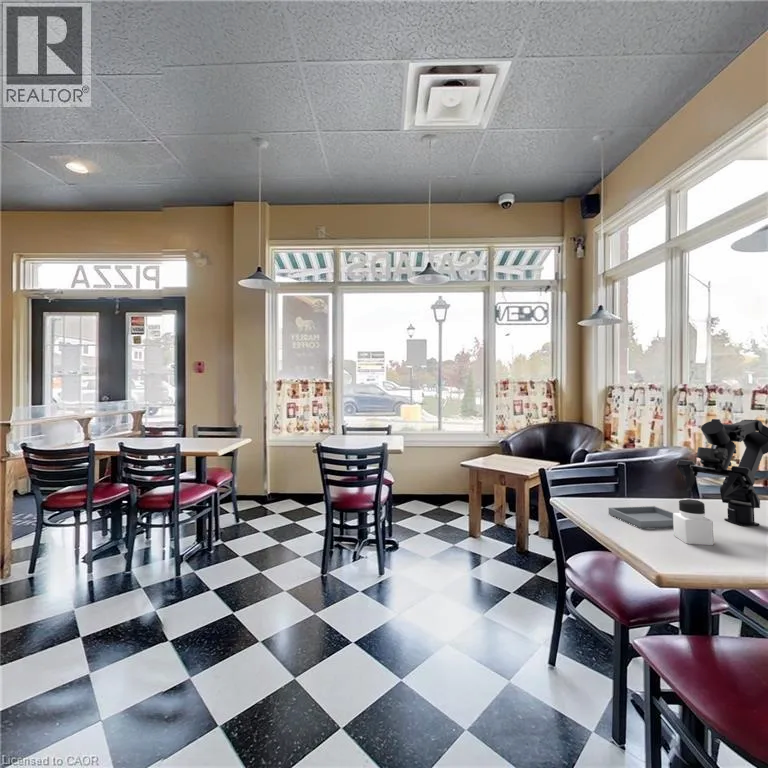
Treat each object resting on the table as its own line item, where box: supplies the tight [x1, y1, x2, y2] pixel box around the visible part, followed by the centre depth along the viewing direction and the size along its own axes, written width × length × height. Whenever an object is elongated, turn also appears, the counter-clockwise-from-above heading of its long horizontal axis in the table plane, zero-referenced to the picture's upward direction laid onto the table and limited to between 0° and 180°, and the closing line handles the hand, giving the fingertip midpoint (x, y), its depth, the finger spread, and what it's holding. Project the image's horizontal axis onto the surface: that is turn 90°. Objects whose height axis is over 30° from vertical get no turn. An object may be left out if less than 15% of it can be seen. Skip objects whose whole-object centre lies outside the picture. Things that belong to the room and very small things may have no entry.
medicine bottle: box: [672, 498, 715, 546], centre depth 116 cm, size 7×7×12 cm
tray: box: [608, 505, 674, 529], centre depth 135 cm, size 18×16×2 cm
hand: (704, 492), depth 120 cm, fingers open, 9 cm apart
